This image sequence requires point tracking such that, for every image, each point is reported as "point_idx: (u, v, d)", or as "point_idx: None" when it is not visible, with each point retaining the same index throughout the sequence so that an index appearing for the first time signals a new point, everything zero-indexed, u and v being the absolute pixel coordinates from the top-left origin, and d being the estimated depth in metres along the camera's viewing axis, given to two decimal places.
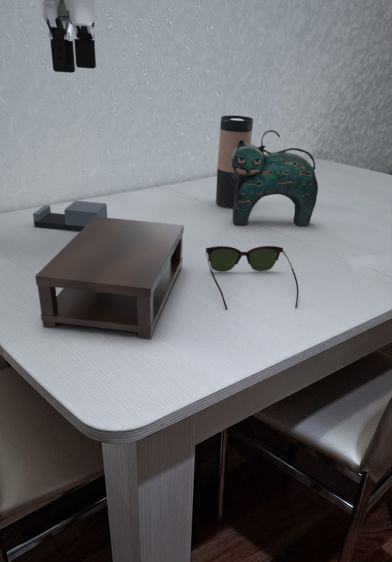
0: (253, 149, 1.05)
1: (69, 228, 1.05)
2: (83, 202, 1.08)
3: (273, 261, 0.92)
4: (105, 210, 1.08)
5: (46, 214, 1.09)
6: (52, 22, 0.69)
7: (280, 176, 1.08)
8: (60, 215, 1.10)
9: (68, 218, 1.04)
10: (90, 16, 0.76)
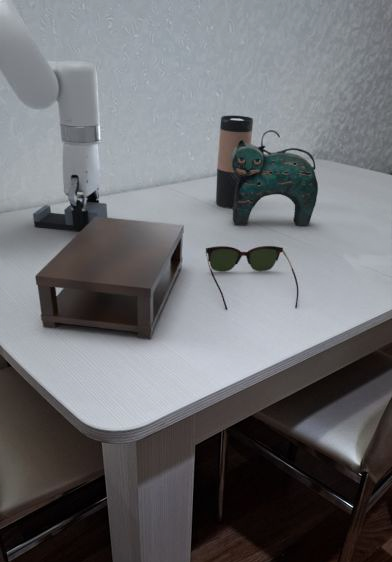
0: (253, 149, 1.05)
1: (69, 228, 1.05)
2: None
3: (273, 261, 0.92)
4: (105, 210, 1.08)
5: (46, 214, 1.09)
6: (74, 204, 0.99)
7: (280, 176, 1.08)
8: (60, 215, 1.10)
9: (68, 218, 1.04)
10: (98, 184, 1.05)
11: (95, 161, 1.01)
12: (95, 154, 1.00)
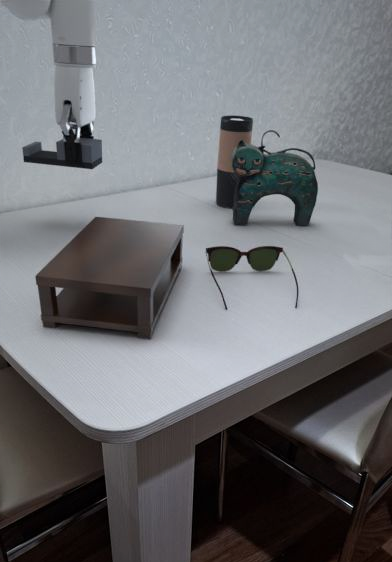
0: (253, 149, 1.05)
1: (61, 163, 0.98)
2: None
3: (273, 261, 0.92)
4: (100, 147, 1.01)
5: (37, 150, 1.02)
6: (66, 133, 0.92)
7: (280, 176, 1.08)
8: (52, 152, 1.03)
9: (60, 151, 0.97)
10: (92, 116, 0.98)
11: (90, 89, 0.94)
12: (90, 81, 0.93)
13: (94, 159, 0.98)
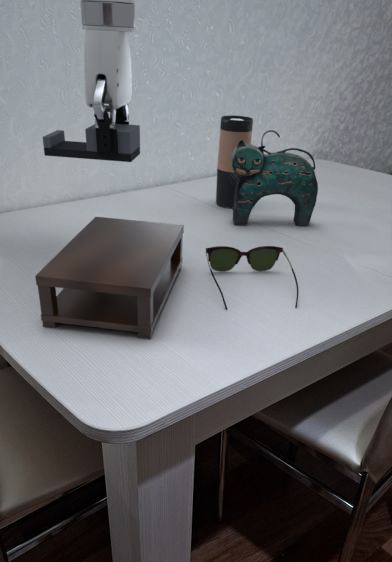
0: (253, 149, 1.05)
1: (91, 156, 0.79)
2: None
3: (273, 261, 0.92)
4: (138, 134, 0.81)
5: (59, 141, 0.82)
6: (100, 117, 0.72)
7: (280, 176, 1.08)
8: (78, 143, 0.83)
9: (91, 141, 0.77)
10: (129, 96, 0.79)
11: (127, 60, 0.74)
12: (127, 50, 0.74)
13: (132, 149, 0.79)
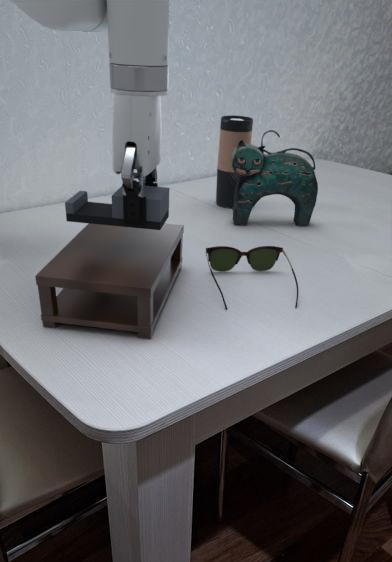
0: (253, 149, 1.05)
1: (117, 223, 0.73)
2: None
3: (273, 261, 0.92)
4: (167, 198, 0.75)
5: (82, 203, 0.76)
6: (128, 187, 0.66)
7: (280, 176, 1.08)
8: (102, 205, 0.77)
9: (117, 208, 0.71)
10: (158, 158, 0.72)
11: (158, 123, 0.68)
12: (159, 112, 0.68)
13: (162, 216, 0.73)
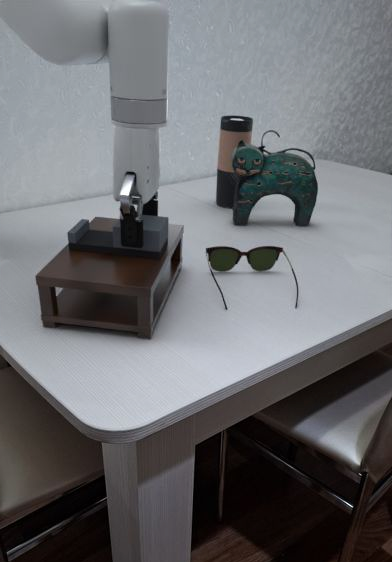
0: (253, 149, 1.05)
1: (118, 252, 0.75)
2: None
3: (273, 261, 0.92)
4: (167, 227, 0.77)
5: (84, 232, 0.78)
6: (126, 210, 0.67)
7: (280, 176, 1.08)
8: (103, 233, 0.79)
9: (118, 238, 0.74)
10: (157, 185, 0.74)
11: (157, 152, 0.70)
12: (158, 142, 0.70)
13: (161, 246, 0.75)
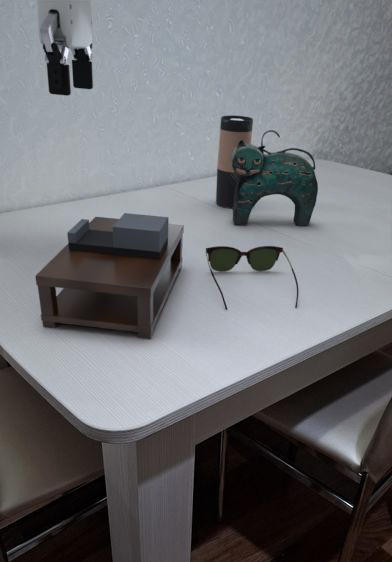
0: (253, 149, 1.05)
1: (118, 252, 0.75)
2: (136, 215, 0.77)
3: (273, 261, 0.92)
4: (167, 227, 0.77)
5: (84, 232, 0.78)
6: (48, 47, 0.69)
7: (280, 176, 1.08)
8: (103, 233, 0.79)
9: (118, 238, 0.74)
10: (88, 39, 0.77)
11: None
12: None
13: (161, 246, 0.75)
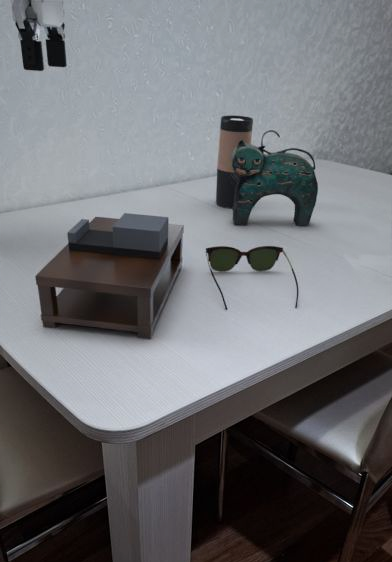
0: (253, 149, 1.05)
1: (118, 252, 0.75)
2: (136, 215, 0.77)
3: (273, 261, 0.92)
4: (167, 227, 0.77)
5: (84, 232, 0.78)
6: (20, 24, 0.74)
7: (280, 176, 1.08)
8: (103, 233, 0.79)
9: (118, 238, 0.74)
10: (59, 18, 0.81)
11: None
12: None
13: (161, 246, 0.75)
